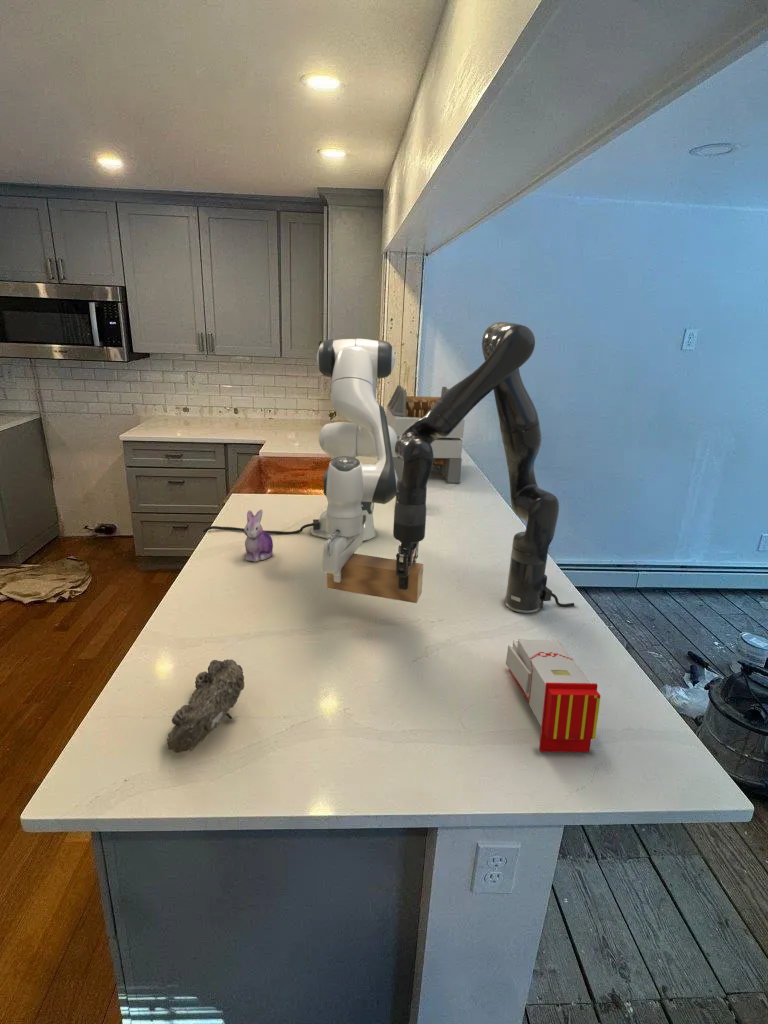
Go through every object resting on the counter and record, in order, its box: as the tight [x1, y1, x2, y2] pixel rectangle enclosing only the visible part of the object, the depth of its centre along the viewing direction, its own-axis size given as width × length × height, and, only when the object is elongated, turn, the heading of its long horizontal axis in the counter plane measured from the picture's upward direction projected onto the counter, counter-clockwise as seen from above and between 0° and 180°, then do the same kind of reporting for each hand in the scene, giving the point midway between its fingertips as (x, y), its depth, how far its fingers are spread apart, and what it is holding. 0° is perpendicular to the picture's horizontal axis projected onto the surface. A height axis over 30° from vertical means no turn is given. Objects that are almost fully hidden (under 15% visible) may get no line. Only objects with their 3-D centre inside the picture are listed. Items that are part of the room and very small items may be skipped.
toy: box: [505, 638, 602, 753], centre depth 114 cm, size 12×13×30 cm
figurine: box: [243, 508, 274, 562], centre depth 175 cm, size 9×10×15 cm
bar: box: [326, 553, 424, 604], centre depth 141 cm, size 23×6×8 cm, turn 74°
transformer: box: [385, 384, 465, 484], centre depth 268 cm, size 34×33×41 cm
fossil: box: [166, 658, 245, 754], centre depth 106 cm, size 22×10×15 cm
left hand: (343, 574), depth 143 cm, fingers closed on bar, 6 cm apart
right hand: (406, 582), depth 139 cm, fingers closed on bar, 6 cm apart
